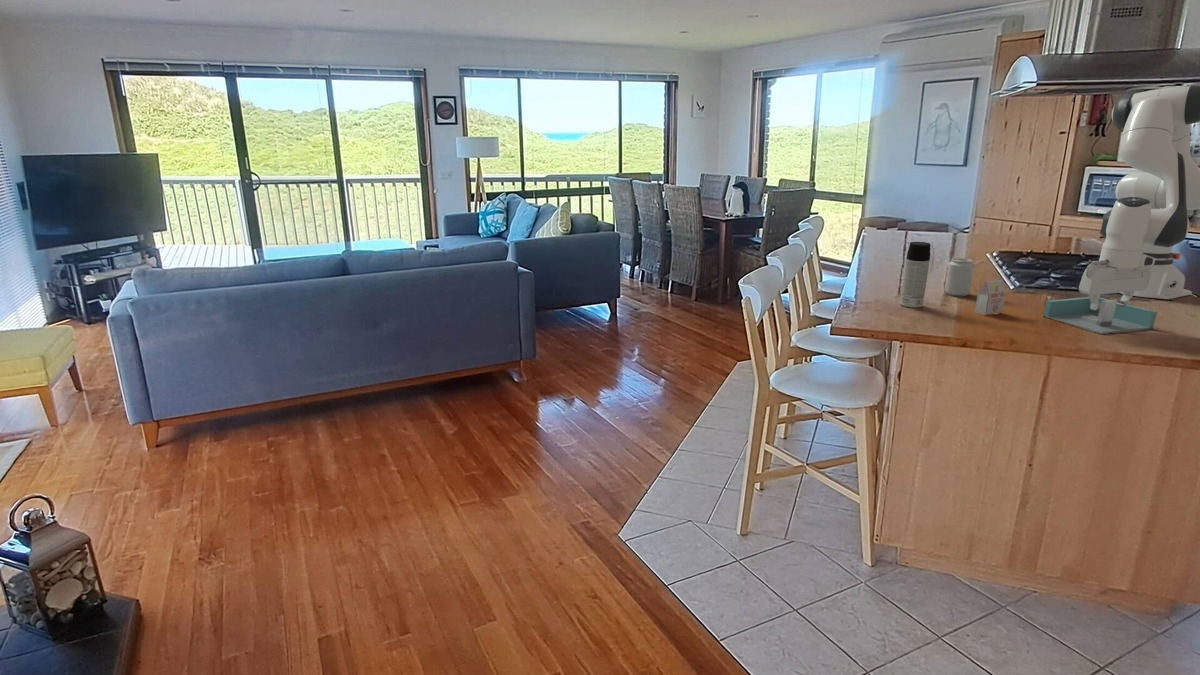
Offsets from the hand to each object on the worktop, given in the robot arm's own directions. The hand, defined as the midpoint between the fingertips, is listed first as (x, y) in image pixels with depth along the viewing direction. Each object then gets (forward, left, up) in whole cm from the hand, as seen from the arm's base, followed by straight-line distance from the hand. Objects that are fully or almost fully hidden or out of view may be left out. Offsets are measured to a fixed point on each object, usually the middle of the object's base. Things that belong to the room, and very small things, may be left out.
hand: (1108, 307), depth 181 cm
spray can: (+35, -35, -6) cm, 50 cm away
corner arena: (-2, -4, -6) cm, 7 cm away
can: (+11, -43, -6) cm, 45 cm away
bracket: (0, -2, -5) cm, 5 cm away
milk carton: (+19, -21, -6) cm, 29 cm away
